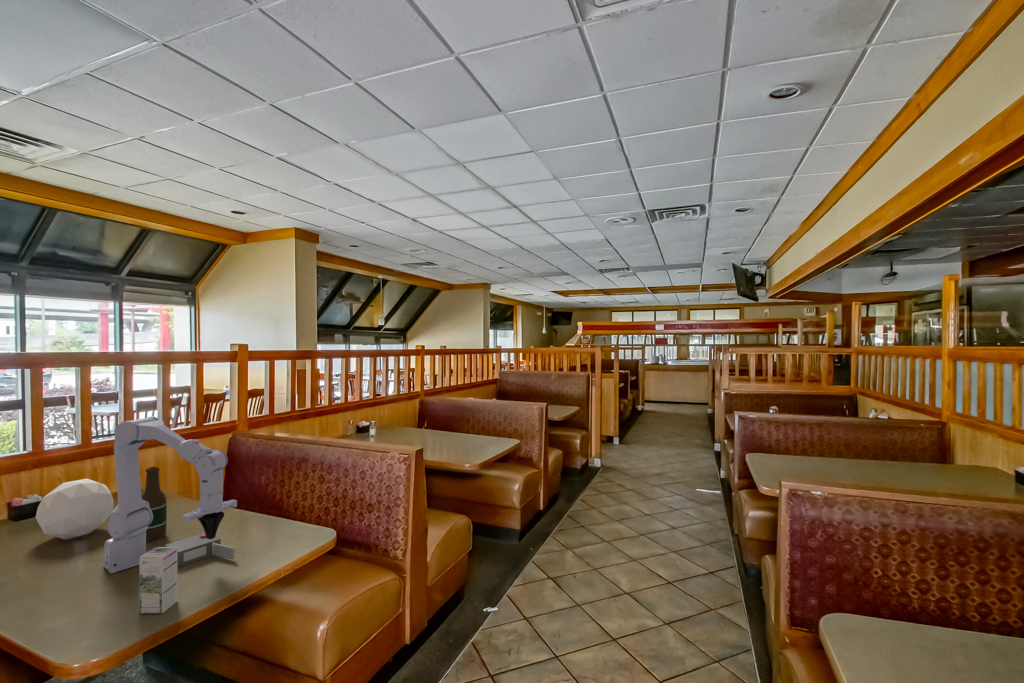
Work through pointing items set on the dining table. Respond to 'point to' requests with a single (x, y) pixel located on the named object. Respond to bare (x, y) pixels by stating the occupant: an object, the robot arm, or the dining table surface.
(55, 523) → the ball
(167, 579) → the syrup box
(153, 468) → the beer bottle
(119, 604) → the dining table surface
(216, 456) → the robot arm
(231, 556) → the side door
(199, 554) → the camera body
